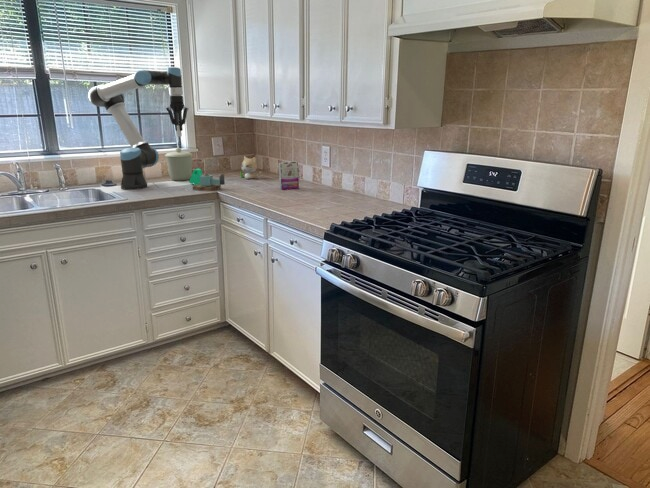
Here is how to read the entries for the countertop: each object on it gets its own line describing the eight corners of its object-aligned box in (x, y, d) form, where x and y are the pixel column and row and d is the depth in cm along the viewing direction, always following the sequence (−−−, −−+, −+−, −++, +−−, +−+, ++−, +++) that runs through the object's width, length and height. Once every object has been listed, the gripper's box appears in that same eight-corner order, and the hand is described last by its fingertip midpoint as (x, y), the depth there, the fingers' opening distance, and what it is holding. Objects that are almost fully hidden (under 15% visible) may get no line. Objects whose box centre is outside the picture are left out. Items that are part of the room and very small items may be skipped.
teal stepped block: (223, 186, 288) (222, 175, 286) (200, 185, 289) (199, 174, 287) (226, 184, 293) (225, 173, 291) (203, 183, 295) (202, 173, 293)
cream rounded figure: (235, 178, 328) (234, 156, 323) (245, 176, 336) (245, 154, 331) (252, 180, 320) (251, 158, 315) (262, 178, 328) (261, 156, 323)
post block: (192, 190, 288) (191, 173, 285) (198, 187, 298) (197, 170, 295) (215, 190, 287) (214, 173, 284) (220, 187, 296) (219, 171, 293)
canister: (177, 176, 333) (174, 145, 327) (200, 178, 328) (197, 146, 322) (161, 181, 317) (157, 148, 311) (184, 182, 312) (182, 149, 305)
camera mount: (212, 184, 307) (211, 168, 304) (203, 186, 300) (202, 170, 297) (198, 182, 312) (197, 166, 309) (189, 184, 306) (188, 168, 303)
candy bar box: (296, 187, 298) (296, 160, 293) (299, 188, 294) (298, 161, 289) (278, 188, 294) (278, 161, 289) (281, 190, 290) (280, 162, 285)
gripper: (162, 95, 280) (166, 136, 287) (184, 95, 279) (187, 137, 286) (168, 95, 287) (171, 135, 295) (189, 95, 286) (192, 136, 293)
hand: (179, 136), depth 290 cm, fingers closed
